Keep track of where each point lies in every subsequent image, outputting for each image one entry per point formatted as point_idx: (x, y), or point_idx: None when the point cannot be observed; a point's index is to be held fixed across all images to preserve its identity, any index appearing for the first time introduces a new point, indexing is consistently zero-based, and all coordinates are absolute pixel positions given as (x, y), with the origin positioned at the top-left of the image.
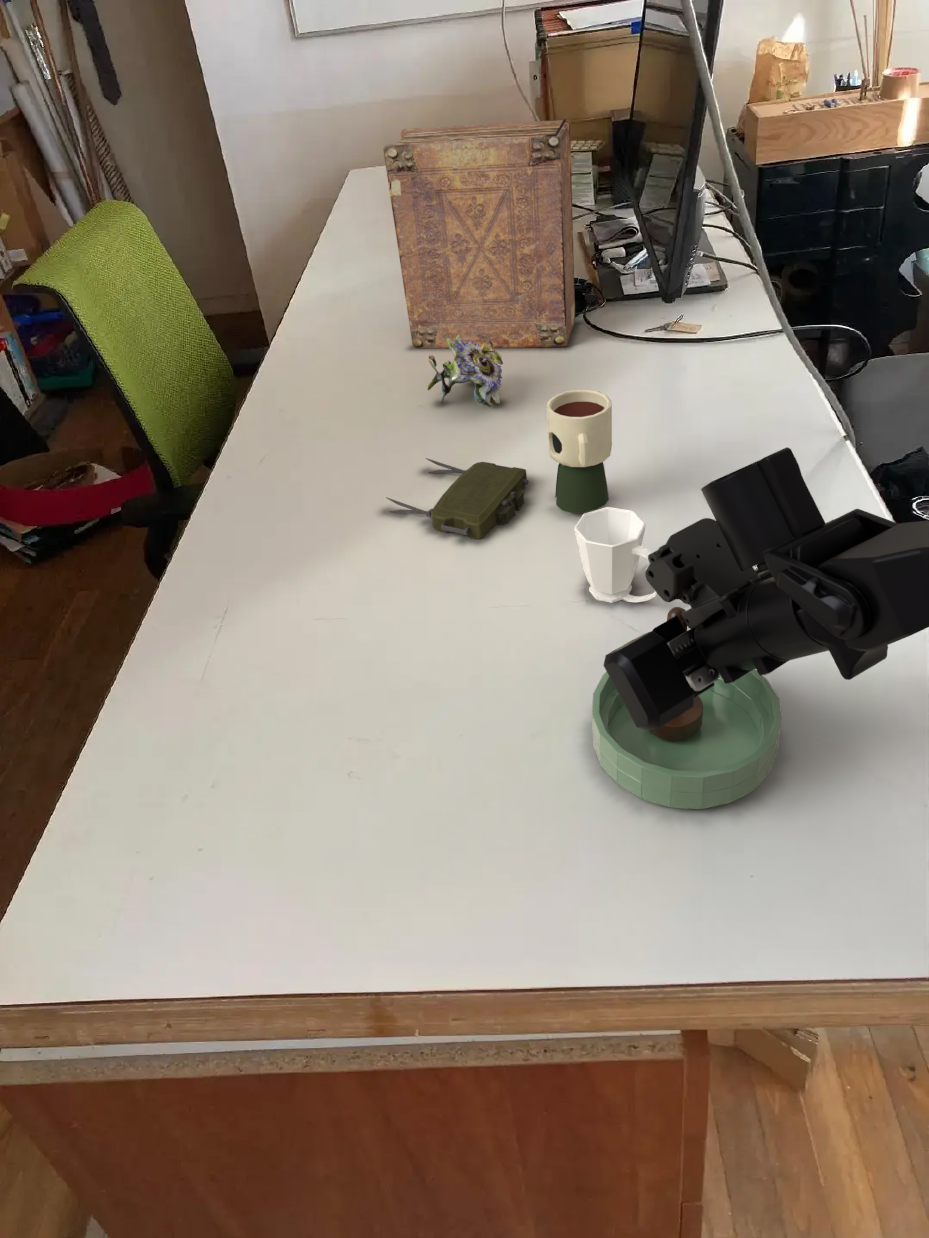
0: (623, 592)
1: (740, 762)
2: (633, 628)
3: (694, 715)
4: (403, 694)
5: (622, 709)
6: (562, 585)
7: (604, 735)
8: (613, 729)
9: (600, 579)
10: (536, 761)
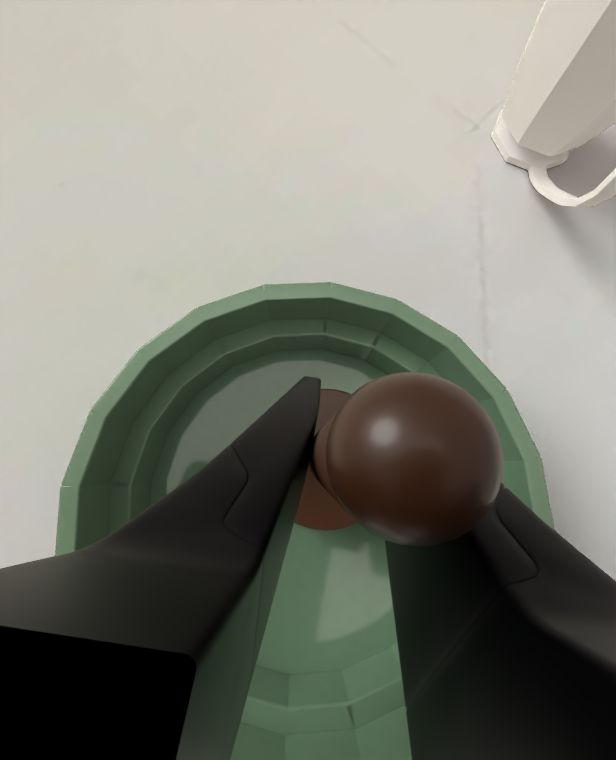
0: (541, 158)
1: None
2: (482, 232)
3: (332, 517)
4: (79, 56)
5: (288, 356)
6: (475, 72)
7: (91, 421)
8: (234, 377)
9: (524, 91)
10: (92, 319)
